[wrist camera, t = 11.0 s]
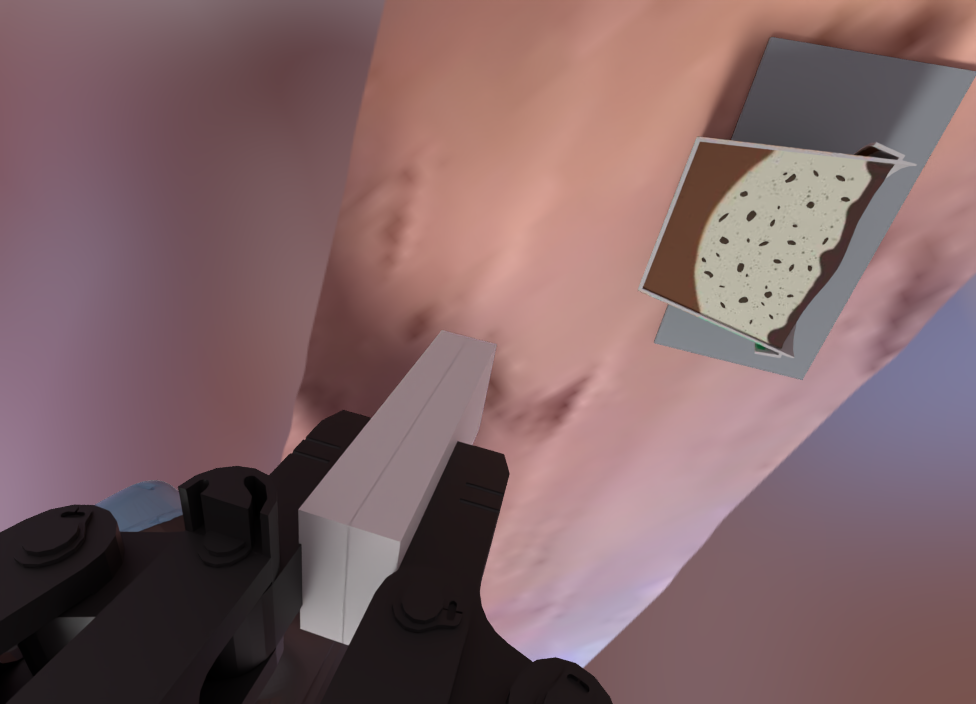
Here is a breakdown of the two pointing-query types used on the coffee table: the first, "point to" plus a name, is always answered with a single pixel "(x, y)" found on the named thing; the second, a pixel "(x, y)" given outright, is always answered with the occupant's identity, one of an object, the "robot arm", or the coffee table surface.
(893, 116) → the mat
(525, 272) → the coffee table surface
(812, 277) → the food container
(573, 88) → the coffee table surface
